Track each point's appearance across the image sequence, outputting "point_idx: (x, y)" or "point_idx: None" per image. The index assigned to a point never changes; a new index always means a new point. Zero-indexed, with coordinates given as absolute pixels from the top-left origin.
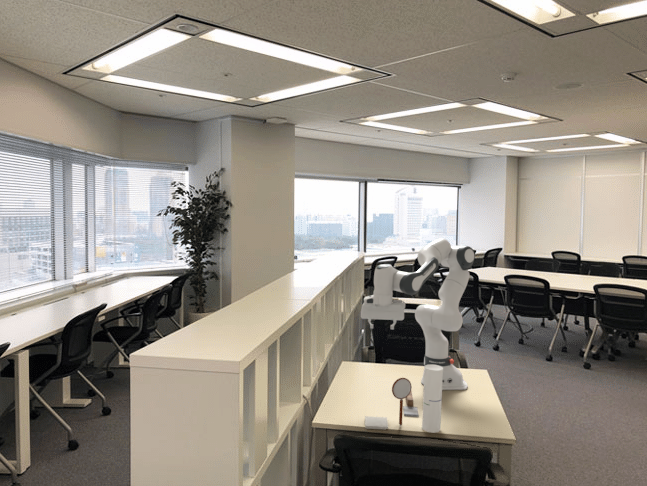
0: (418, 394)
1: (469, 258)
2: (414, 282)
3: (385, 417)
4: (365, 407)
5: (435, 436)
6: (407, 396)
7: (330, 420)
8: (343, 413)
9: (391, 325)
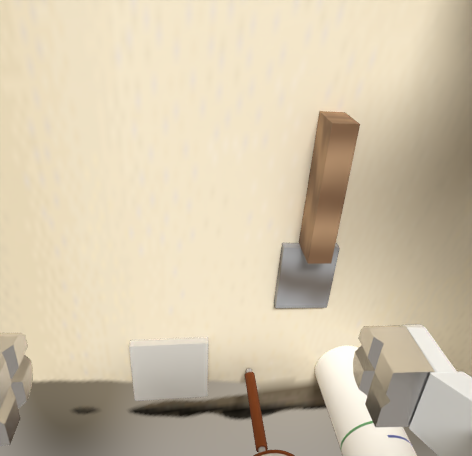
0: (393, 76)
1: None
2: None
3: (203, 344)
4: (124, 255)
5: None
6: (315, 228)
7: None
8: (42, 315)
9: (397, 409)
